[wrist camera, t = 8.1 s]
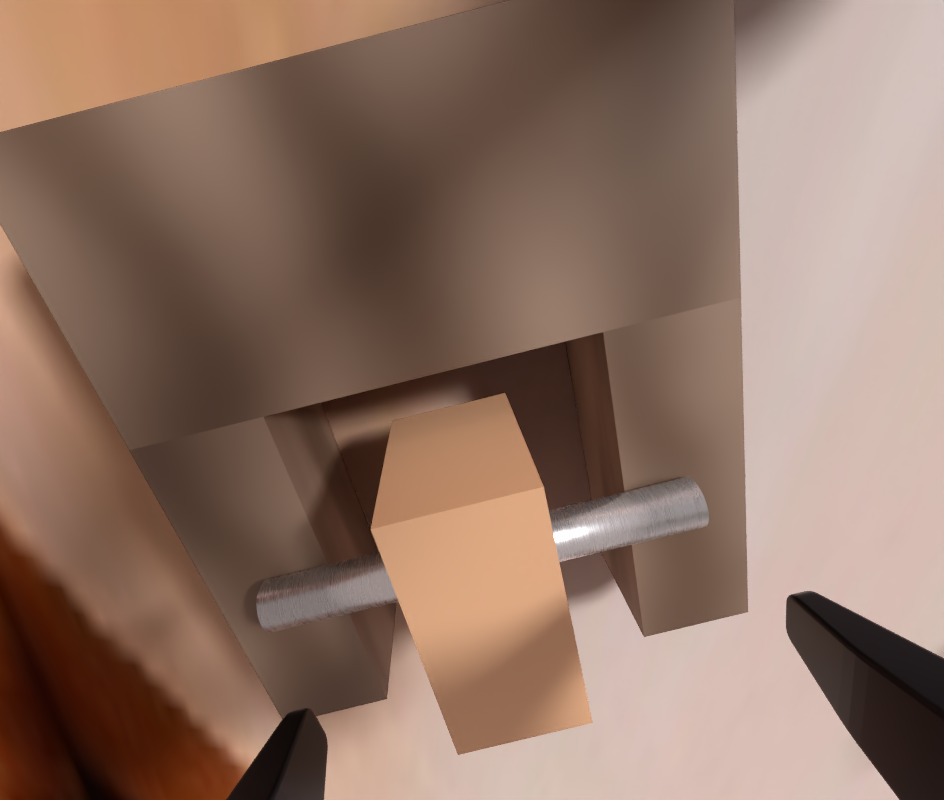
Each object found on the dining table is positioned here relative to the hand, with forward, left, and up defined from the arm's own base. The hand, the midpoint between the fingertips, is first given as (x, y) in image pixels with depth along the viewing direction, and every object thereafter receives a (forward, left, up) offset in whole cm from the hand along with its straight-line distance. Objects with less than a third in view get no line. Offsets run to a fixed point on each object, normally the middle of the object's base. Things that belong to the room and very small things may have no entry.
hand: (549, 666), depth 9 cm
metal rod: (+1, +2, -7) cm, 7 cm away
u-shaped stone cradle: (+1, -2, -12) cm, 12 cm away
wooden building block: (+1, +2, -9) cm, 9 cm away
